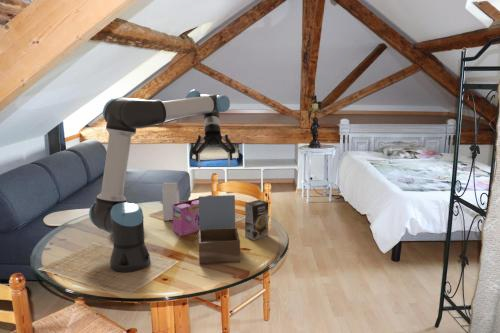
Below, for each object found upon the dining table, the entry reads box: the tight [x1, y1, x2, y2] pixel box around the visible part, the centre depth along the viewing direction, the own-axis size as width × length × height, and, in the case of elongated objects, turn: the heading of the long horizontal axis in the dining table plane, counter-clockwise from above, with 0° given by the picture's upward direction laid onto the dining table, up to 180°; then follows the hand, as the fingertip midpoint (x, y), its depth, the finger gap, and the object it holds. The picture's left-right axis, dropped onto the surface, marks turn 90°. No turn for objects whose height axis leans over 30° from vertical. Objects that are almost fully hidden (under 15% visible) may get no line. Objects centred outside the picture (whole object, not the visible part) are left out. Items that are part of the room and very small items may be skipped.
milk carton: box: [161, 182, 180, 222], centre depth 211 cm, size 7×7×19 cm
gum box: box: [172, 194, 213, 237], centre depth 199 cm, size 24×8×14 cm, turn 134°
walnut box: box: [198, 227, 241, 266], centre depth 168 cm, size 14×16×9 cm
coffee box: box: [244, 199, 269, 241], centre depth 188 cm, size 9×6×16 cm
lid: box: [198, 194, 236, 230], centre depth 174 cm, size 14×15×1 cm
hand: (214, 166), depth 185 cm, fingers open, 13 cm apart
